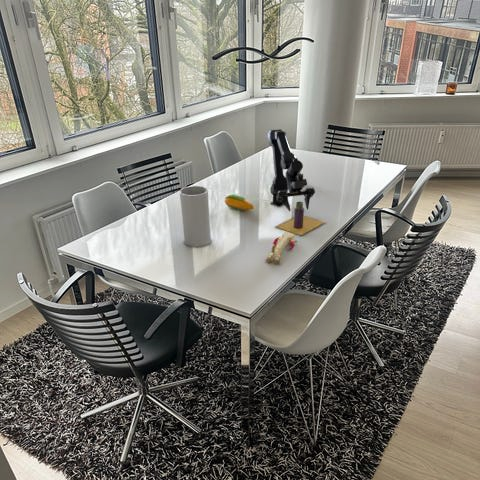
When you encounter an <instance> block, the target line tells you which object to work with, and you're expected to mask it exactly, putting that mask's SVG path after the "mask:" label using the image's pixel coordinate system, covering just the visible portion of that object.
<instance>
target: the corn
mask: <svg viewBox="0 0 480 480" xmlns="http://www.w3.org/2000/svg"><path fill="white" fill-rule="evenodd" d="M224 203H225V205H226V206H227V207H229V208H230V209H233V210H237V211H240V212H242V211H252V210H254V208H255V206H254V205H253V204H252V203H251V202H249V201H248V200H246V198H245V197H244V196H240V195H238V194H229V195H227V196H226V197H225V199H224Z"/></svg>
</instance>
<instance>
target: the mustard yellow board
mask: <svg viewBox="0 0 480 480" xmlns="http://www.w3.org/2000/svg"><path fill="white" fill-rule="evenodd" d="M324 224H325V221H322V220H318V219H315V218H312V217H309V216H305V215H304V220H303V228H300V229H297V228H294V217H291V218H290V219H287V220H286V221H283V222H282V223H279V224H278V225H276V226H275V228H276V229H279V230H283V231H287V233H293V234H294V235H298V236H300V237H301V236H304V235H306V234H308V232H311V231H313V230H315V229H317V228H318V227H320V226H322V225H324Z"/></svg>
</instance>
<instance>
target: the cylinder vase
mask: <svg viewBox="0 0 480 480" xmlns="http://www.w3.org/2000/svg"><path fill="white" fill-rule="evenodd" d="M179 198H180V209H181V217H182V219H181V220H182V228H183V236H184V237H183V238H184V243H185V244H186V245H187V246H188V247H195V248H196V247H197V248H199V247H204V246H207V245H208V244H210V242H211V240H212V238H211V237H212V235H211V221H210V207H209V204H210V203H209V191H208V188H207V187H205V186H201V185H189V186H185V187H182V188H181V189H180V190H179Z"/></svg>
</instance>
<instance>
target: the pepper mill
mask: <svg viewBox="0 0 480 480" xmlns="http://www.w3.org/2000/svg"><path fill="white" fill-rule="evenodd" d="M295 204H296V205H295V207H294V210H293V211H294V212H293V218H294V228H297V229H300V228H303V220H304V216H305V208H304V202H303V201H296V203H295Z"/></svg>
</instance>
